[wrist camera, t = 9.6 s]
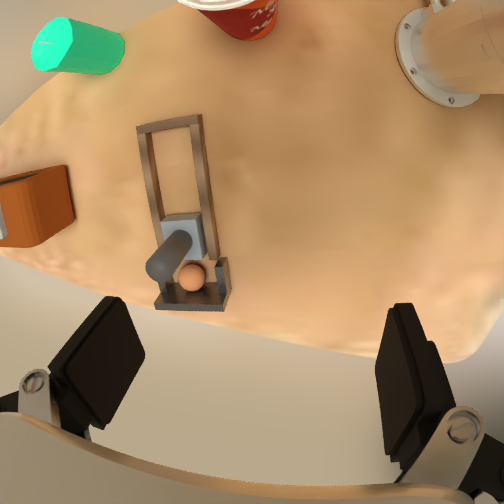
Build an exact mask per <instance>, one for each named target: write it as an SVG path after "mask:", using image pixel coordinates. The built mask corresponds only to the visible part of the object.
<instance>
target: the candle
mask: <svg viewBox="0 0 504 504" xmlns="http://www.w3.org/2000/svg"><path fill="white" fill-rule="evenodd" d="M31 48H32V50H31V51H32V61H33V63H34V66H35V68H36V69H39V70H42V71H53V72H54V71H55V72H73V73H87V74H98V75H101V74H105V73H108V72H111V71H112V70H113V69H114V68H115V67H116V66H117V65H118V64H119V63H120V61H121V59H122V57H123V54H124V40H123V39H122V37H121V36H120V34H118V33H115V32H112V31H109V30H106V29H103V28H100V27H97V26H93V25H90V24H87V23H83V22H80V21H76V20H72V19H69V18H63V17H57V18H55V19H54V20H52V21H50V22H49V23H48V24H47V25H46V26H45V27H44V28H43V29H42V30H41V31H40V32H39V33H38V35H37V37H36V39H35V41H34V43H33V44H32V47H31Z"/></svg>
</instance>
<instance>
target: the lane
mask: <svg viewBox="0 0 504 504" xmlns="http://www.w3.org/2000/svg"><path fill="white" fill-rule="evenodd" d="M188 125H189V126H190V134H191V142H192V150H193V157H194V165H195V172H196V179H197V186H198V193H199V199H200V206H201V212H202V219H203V225H204V231H205V237H206V243H207V249H208V255H209V260H218V258H219V256H220V250H219V243H218V236H217V230H216V223H215V216H214V209H213V202H212V194H211V187H210V180H209V172H208V164H207V157H206V149H205V141H204V132H203V124H202V115H193V116H187V117H181V118H175V119H170V120H165V121H160V122H155V123H150V124H145V125H141V126H137V127H136V130H137V137H138V144H139V150H140V157H141V163H142V169H143V175H144V180H145V186H146V191H147V196H148V202H149V207H150V212H151V216H152V221H153V226H154V231H155V235H156V240H157V244H158V248H159V247H160V246H161V245H162V244H163V243H164V238H163V233H162V228H161V223H160V222H161V221H162V220H163V219H164V218H165V215H164V210H163V204H162V199H161V193H160V188H159V182H158V176H157V170H156V164H155V158H154V151H153V144H152V137H151V132H154V131H159V130H165V129H170V128H176V127H182V126H188Z"/></svg>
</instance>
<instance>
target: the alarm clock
mask: <svg viewBox="0 0 504 504" xmlns="http://www.w3.org/2000/svg"><path fill="white" fill-rule="evenodd" d="M73 221H74V216H73V211H72V206H71V200H70V195H69V189H68V183H67V177H66V170H65V167H64V166H63V165H60V166H54V167H49V168H44V169H40V170H35V171H31V172H26V173H22V174H18V175H14V176H10V177H6V178H2V179H0V247H17V248H29V247H34V246H37V245H39V244H41V243H43V242H44V241H46V240H47V239H49V238H50V237H52V236H53V235H55V234H56V233H58V232H59V231H61V230H62V229H64V228H66V227H67V226H69V225H70V224H71V223H73Z"/></svg>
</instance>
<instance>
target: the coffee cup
mask: <svg viewBox="0 0 504 504" xmlns="http://www.w3.org/2000/svg"><path fill="white" fill-rule="evenodd" d="M178 1H179V2H181V3H183V4H184V5H186V6H189V7H192V8H195V9H197V10H199V11H200V12H201V13H202V14H204V15H205V16H206V17H207V18H209V19H210V20H211V21H212V22H214V23H215V24H216V25H217V26H219V27H220V28H221V29H222V30H224V31H225V32H226V33H228V34H229V35H231V36H232V37H234V38H237V39H240V40H255V39H259V38H261V37H263V36H265V35H266V34H268V33H269V32H270V31H271V30H272V28H273V27H274V25H275V22H276V17H277V3H278V0H178Z"/></svg>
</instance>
